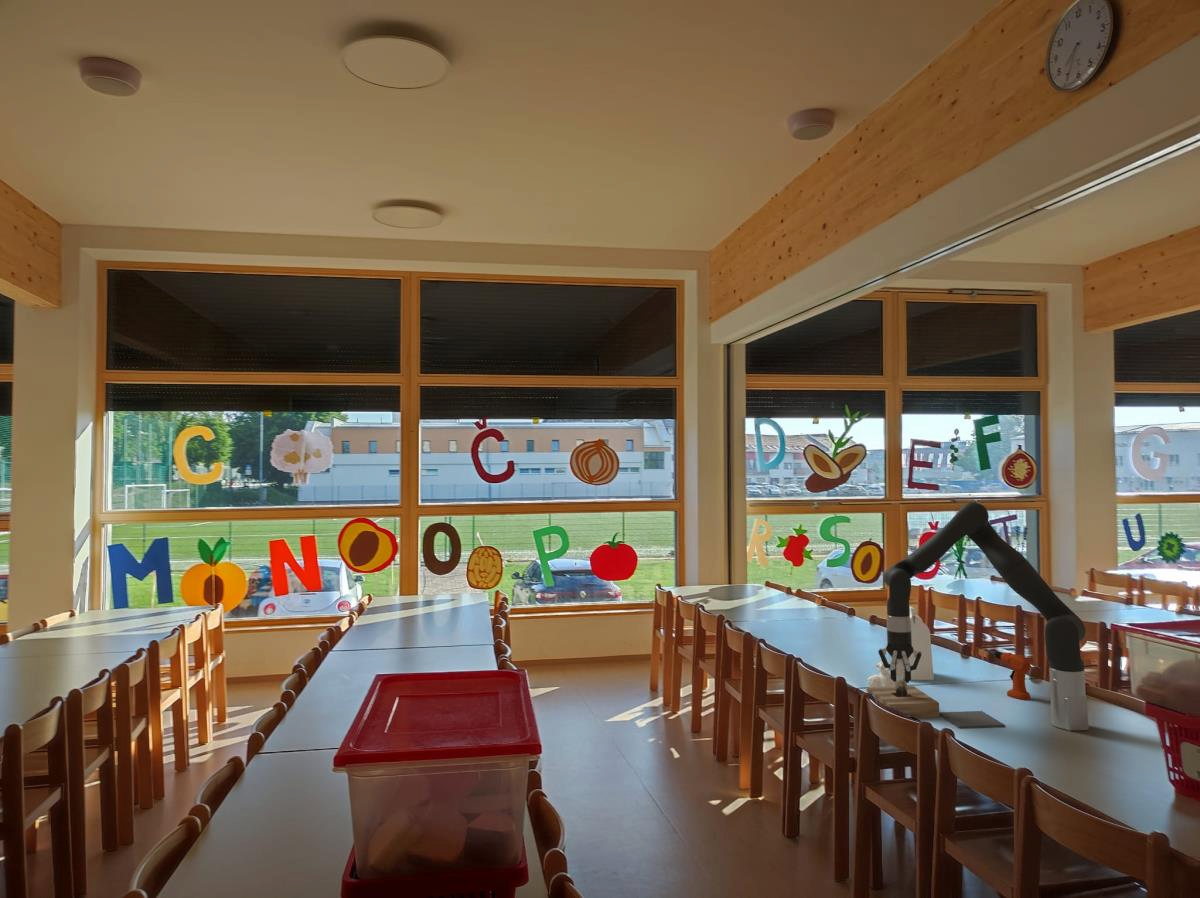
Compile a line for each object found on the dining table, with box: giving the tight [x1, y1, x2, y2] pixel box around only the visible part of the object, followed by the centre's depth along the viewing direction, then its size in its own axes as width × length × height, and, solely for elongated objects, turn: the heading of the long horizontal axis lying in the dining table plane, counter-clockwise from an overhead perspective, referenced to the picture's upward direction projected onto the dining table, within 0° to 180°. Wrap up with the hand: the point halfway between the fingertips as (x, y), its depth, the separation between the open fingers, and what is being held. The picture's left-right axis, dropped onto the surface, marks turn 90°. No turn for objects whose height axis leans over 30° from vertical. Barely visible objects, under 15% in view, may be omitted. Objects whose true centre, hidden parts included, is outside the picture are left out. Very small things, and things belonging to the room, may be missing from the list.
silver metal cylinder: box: [895, 658, 908, 696], centre depth 259 cm, size 4×4×12 cm
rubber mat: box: [939, 710, 1006, 729], centre depth 245 cm, size 14×14×1 cm
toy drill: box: [983, 648, 1032, 701], centre depth 273 cm, size 5×19×15 cm, turn 22°
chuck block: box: [866, 685, 941, 719], centre depth 259 cm, size 20×16×4 cm
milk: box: [894, 605, 935, 681], centre depth 300 cm, size 12×12×26 cm
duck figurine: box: [867, 661, 895, 687], centre depth 280 cm, size 12×8×11 cm
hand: (900, 681), depth 259 cm, fingers closed on silver metal cylinder, 3 cm apart
